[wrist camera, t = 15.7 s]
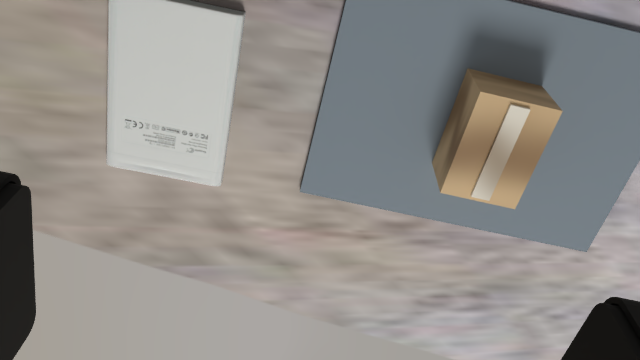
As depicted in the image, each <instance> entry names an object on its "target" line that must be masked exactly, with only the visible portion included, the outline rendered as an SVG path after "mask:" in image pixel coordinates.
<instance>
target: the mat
mask: <svg viewBox="0 0 640 360" xmlns="http://www.w3.org/2000/svg"><path fill="white" fill-rule="evenodd" d="M468 68H469V69H473V70H477V71H481V72H485V73H490V74H494V75H498V76H502V77H506V78H510V79H514V80H519V81H523V82H527V83H531V84H535V85H539V86H542V87H543V88H544V89H545V90H546V91H547V93H548V94H549V95H550V96H551V97H552V99H553V100H554V101H555V102H556V103H557V105H558V106H559V107H560V108H561V110H562V111H563V112H562V114H561V116H560V118H559V120H558V122H557V124H556V126H555V128H554V130H553V132H552V134H551V136H550V138H549V140H548V142H547V145H546V147H545V149H544V151H543V153H542V155H541V157H540V159H539V161H538V163H537V165H536V167H535V169H534V171H533V173H532V175H531V177H530V179H529V182H528V184H527V186H526V188H525V190H524V192H523V194H522V196H521V198H520V200H519V202H518V204H517V206H516V208H515V209H511V208H507V207H502V206H498V205H493V204H489V203H484V202H480V201H475V200H470V199H466V198H461V197H457V196H452V195H448V194H443V193H440V190H439V187H438V183H437V179H436V176H435V172H434V168H433V165H432V161H433V158H434V156H435V153H436V151H437V148H438V145H439V143H440V140H441V137H442V135H443V132H444V129H445V127H446V124H447V121H448V119H449V116H450V114H451V111H452V108H453V106H454V103H455V100H456V98H457V95H458V92H459V90H460V87H461V84H462V82H463V79H464V76H465V74H466V71H467V69H468ZM639 160H640V32H638V31H634V30H630V29H626V28H622V27H617V26H613V25H609V24H605V23H601V22H597V21H593V20H589V19H585V18H581V17H576V16H572V15H568V14H564V13H560V12H556V11H552V10H548V9H544V8H539V7H535V6H531V5H527V4H523V3H519V2H515V1H511V0H346V2H345V6H344V10H343V14H342V18H341V22H340V26H339V31H338V35H337V39H336V43H335V47H334V51H333V55H332V60H331V64H330V68H329V72H328V76H327V80H326V84H325V89H324V93H323V97H322V101H321V105H320V109H319V114H318V118H317V122H316V126H315V130H314V134H313V138H312V143H311V147H310V151H309V155H308V159H307V163H306V167H305V172H304V176H303V180H302V184H301V188H300V192H303V193H308V194H312V195H317V196H322V197H327V198H331V199H336V200H341V201H346V202H351V203H355V204H360V205H365V206H370V207H374V208H379V209H384V210H389V211H393V212H398V213H403V214H408V215H413V216H417V217H422V218H427V219H432V220H436V221H441V222H446V223H451V224H455V225H460V226H465V227H470V228H475V229H479V230H484V231H489V232H494V233H498V234H503V235H508V236H513V237H517V238H522V239H527V240H532V241H536V242H541V243H546V244H551V245H556V246H560V247H565V248H570V249H575V250H579V251H584V252H587V250H588V248H589V247H590V245H591V243H592V241H593V240H594V238H595V236H596V235H597V233H598V231H599V229H600V228H601V226H602V224H603V222H604V221H605V219H606V217H607V216H608V214H609V212H610V210H611V209H612V207H613V205H614V203H615V202H616V200H617V198H618V197H619V195H620V193H621V191H622V190H623V188H624V186H625V185H626V183H627V181H628V179H629V178H630V176H631V174H632V172H633V171H634V169H635V167H636V166H637V164H638V162H639Z"/></svg>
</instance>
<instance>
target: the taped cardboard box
mask: <svg viewBox="0 0 640 360" xmlns="http://www.w3.org/2000/svg"><path fill="white" fill-rule="evenodd" d="M562 112H563V111H562V110H561V108H560V107H559V106H558V105H557V103H556V102H555V101H554V100H553V99H552V97H551V96H550V95H549V94H548V93H547V91H546V90H545V89H544V88H543V87H542V86H539V85H535V84H531V83H527V82H523V81H519V80H514V79H510V78H506V77H502V76H498V75H494V74H490V73H485V72H481V71H477V70H473V69H469V68H468V69H467V71H466V74H465V76H464V79H463V82H462V84H461V87H460V90H459V92H458V95H457V98H456V100H455V103H454V106H453V108H452V111H451V114H450V116H449V119H448V121H447V124H446V127H445V129H444V132H443V135H442V137H441V140H440V143H439V145H438V148H437V151H436V153H435V156H434V158H433V161H432V165H433V168H434V172H435V176H436V179H437V183H438V187H439V190H440V193H443V194H448V195H452V196H457V197H461V198H466V199H470V200H475V201H480V202H484V203H489V204H493V205H498V206H502V207H507V208H511V209H515V208H516V206H517V204H518V202H519V200H520V198H521V196H522V194H523V192H524V190H525V188H526V186H527V184H528V182H529V179H530V177H531V175H532V173H533V171H534V169H535V167H536V165H537V163H538V161H539V159H540V157H541V155H542V153H543V151H544V149H545V147H546V145H547V142H548V140H549V138H550V136H551V134H552V132H553V130H554V128H555V126H556V124H557V122H558V120H559V118H560V116H561V114H562Z"/></svg>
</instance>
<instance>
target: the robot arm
mask: <svg viewBox="0 0 640 360" xmlns="http://www.w3.org/2000/svg"><path fill="white" fill-rule="evenodd" d="M35 315H36V303H35V279H34V255H33V231H32V207H31V192H30V189H29V187H27V186H23V185H21V181H20V179H19V177H18V176H17V175H15V174H11V173H6V172H1V171H0V360H13V358H14V357H15V355H16V354H17V352H18V350H19V349H20V348H21V346H22V344H23V343H24V341H25V340H26V338H27V337H28V335H29V333H30V331H31V329H32V327H33V324H34V321H35ZM561 360H640V302H638V301H634V300H629V299H624V298H619V297H611V298H609V299H607V300H606V301H605V302H604V303H599V304H597V305H596V306H595V307H594V308H593V310H592V311H591V313H590V314H589V316H588V317H587V319H586V321H585V322H584V324H583V325H582V327H581V329H580V330H579V332H578V333H577V335H576V337H575V338H574V340H573V341H572V343H571V345H570V346H569V348H568V349H567V351H566V353H565V354H564V356H563V357H562V359H561Z"/></svg>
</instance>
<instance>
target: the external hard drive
mask: <svg viewBox="0 0 640 360" xmlns="http://www.w3.org/2000/svg"><path fill="white" fill-rule="evenodd" d="M244 20H245V12H242V11H238V10H233V9H228V8H223V7H219V6H214V5H209V4H205V3H200V2H195V1H191V0H109V5H108V91H107V162H106V163H107V165H109V166H112V167H117V168H122V169H127V170H132V171H138V172H143V173H148V174H154V175H159V176H164V177H169V178H174V179H179V180H184V181H189V182H195V183H200V184H205V185H210V186H221V183H222V180H223V174H224V166H225V160H226V152H227V145H228V138H229V131H230V124H231V117H232V109H233V102H234V94H235V87H236V80H237V73H238V65H239V58H240V50H241V43H242V36H243V28H244Z"/></svg>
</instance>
